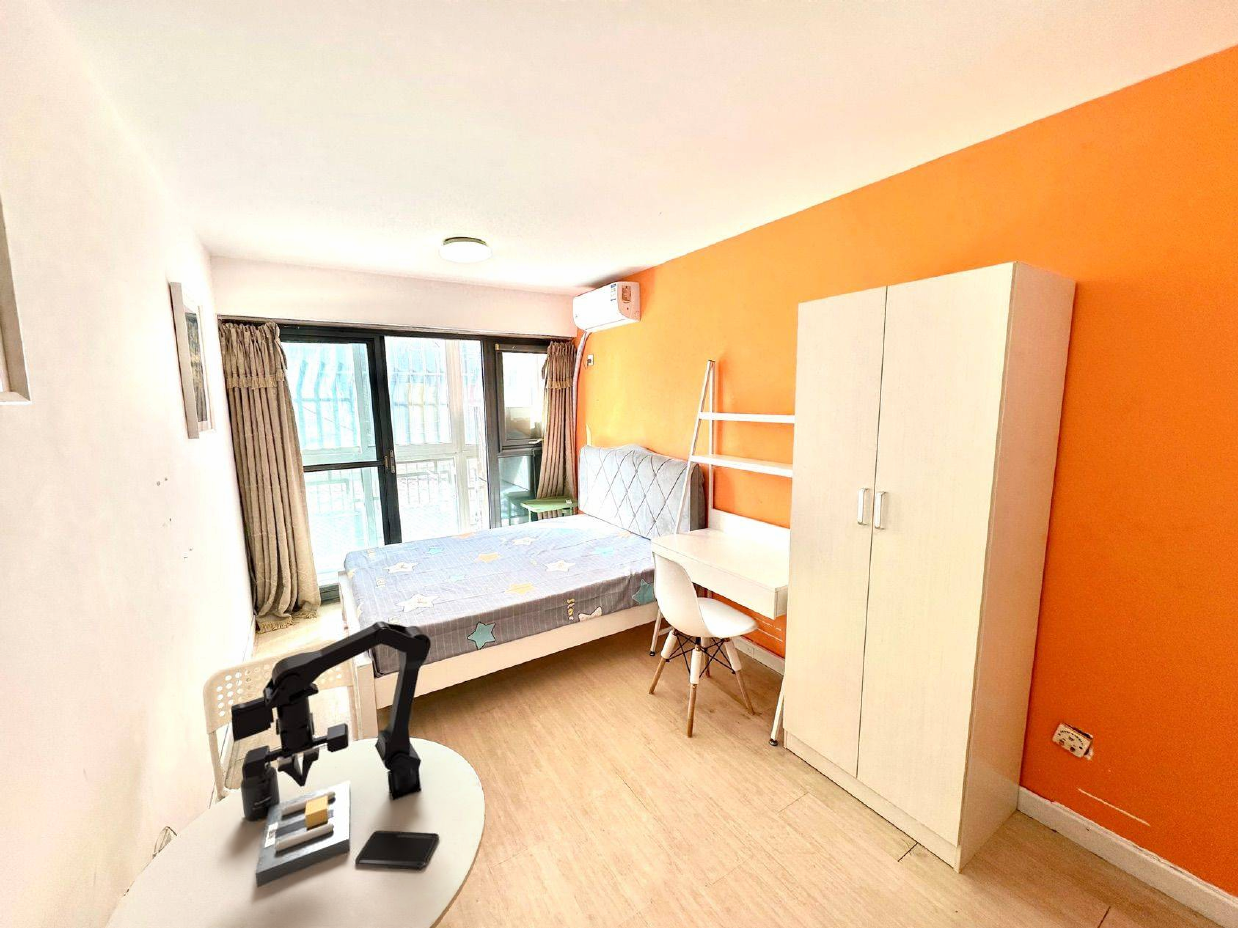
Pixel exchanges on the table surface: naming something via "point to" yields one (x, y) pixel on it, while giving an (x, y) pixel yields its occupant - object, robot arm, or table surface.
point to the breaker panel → (294, 823)
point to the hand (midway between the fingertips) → (302, 784)
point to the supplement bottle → (260, 794)
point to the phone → (397, 850)
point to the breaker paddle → (317, 811)
